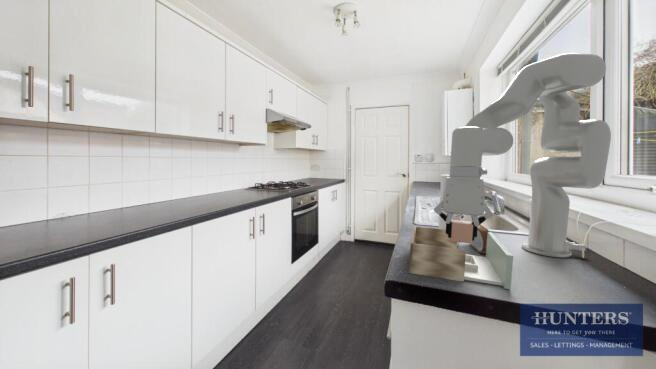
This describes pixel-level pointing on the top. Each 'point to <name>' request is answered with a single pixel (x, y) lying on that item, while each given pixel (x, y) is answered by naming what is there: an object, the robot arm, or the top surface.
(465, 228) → the block
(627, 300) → the top surface
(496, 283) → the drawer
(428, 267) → the caddy
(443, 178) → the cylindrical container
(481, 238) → the tin
